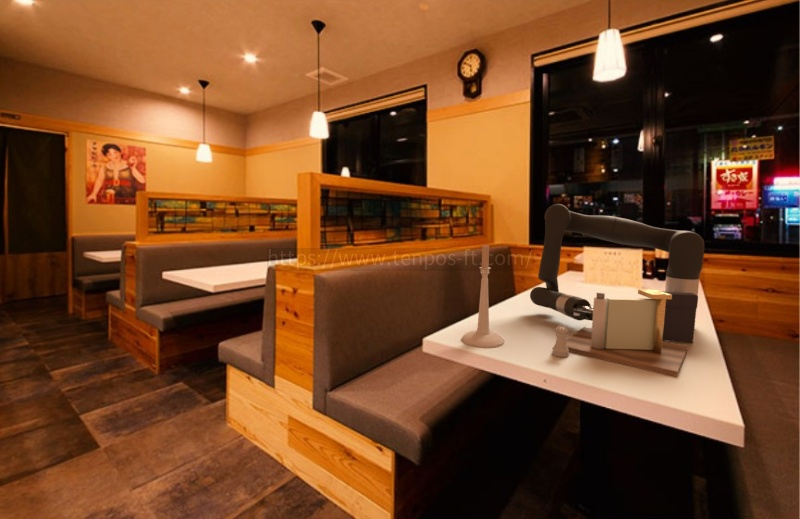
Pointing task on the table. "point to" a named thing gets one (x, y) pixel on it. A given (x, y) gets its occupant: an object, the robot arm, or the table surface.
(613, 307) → the hinge
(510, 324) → the table surface
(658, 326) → the plate
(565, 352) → the rook chess piece
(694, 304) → the dark brown flat block
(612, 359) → the board
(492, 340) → the candlestick
